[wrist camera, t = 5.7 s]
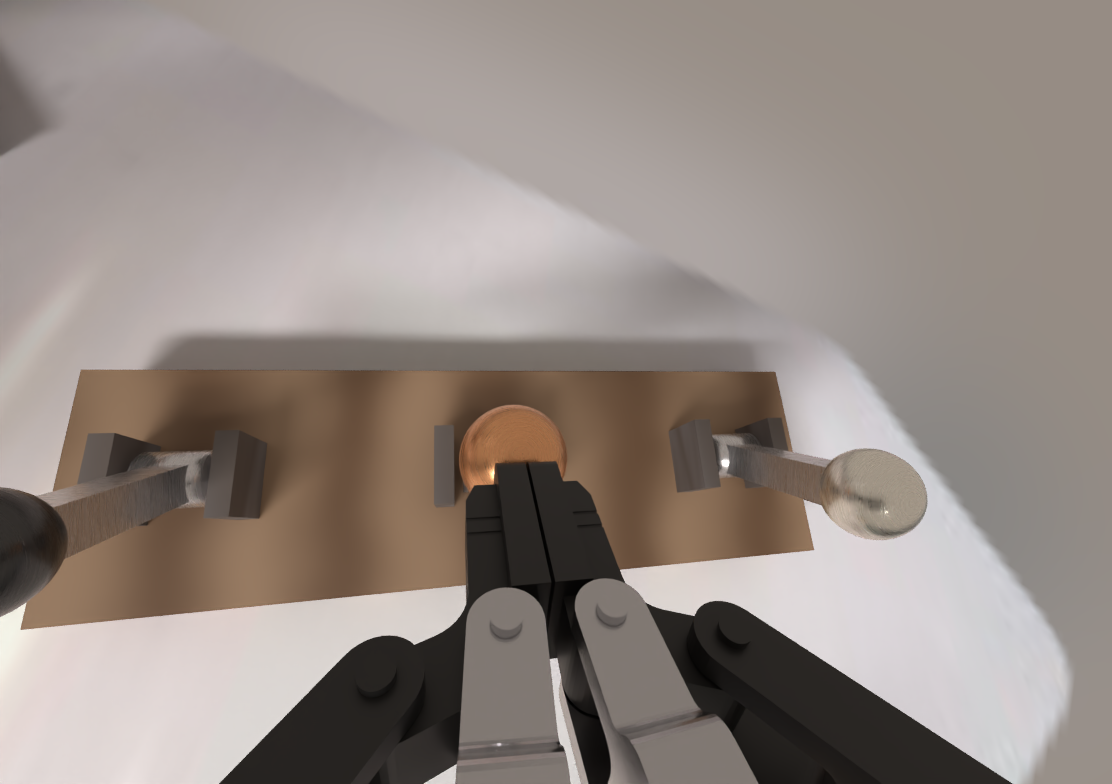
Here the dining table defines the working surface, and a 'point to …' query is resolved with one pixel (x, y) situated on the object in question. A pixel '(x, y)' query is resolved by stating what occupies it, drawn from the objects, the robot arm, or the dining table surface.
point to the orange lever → (508, 443)
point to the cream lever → (833, 483)
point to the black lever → (89, 516)
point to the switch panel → (395, 479)
